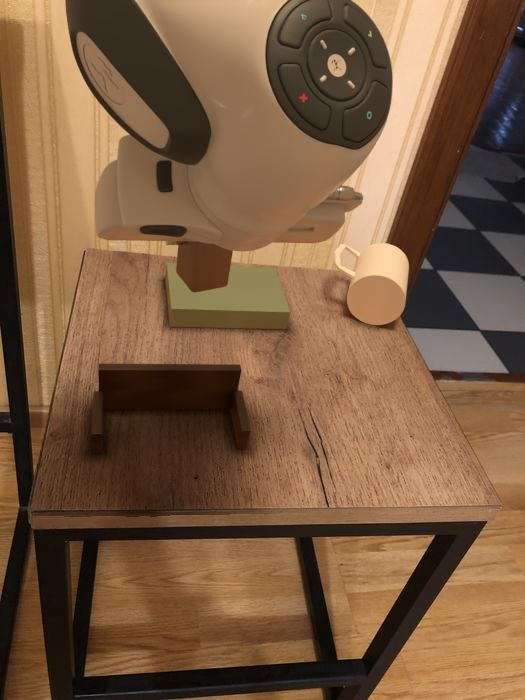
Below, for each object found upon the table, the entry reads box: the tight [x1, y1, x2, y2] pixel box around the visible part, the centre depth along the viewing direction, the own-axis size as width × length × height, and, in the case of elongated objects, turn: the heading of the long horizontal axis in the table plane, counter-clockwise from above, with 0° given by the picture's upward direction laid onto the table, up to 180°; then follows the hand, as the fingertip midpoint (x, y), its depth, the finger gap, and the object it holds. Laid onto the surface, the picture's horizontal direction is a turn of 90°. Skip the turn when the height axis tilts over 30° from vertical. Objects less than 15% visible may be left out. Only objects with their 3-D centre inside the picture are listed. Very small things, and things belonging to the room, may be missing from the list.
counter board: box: [164, 262, 291, 330], centre depth 81 cm, size 16×11×3 cm
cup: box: [333, 242, 410, 326], centre depth 86 cm, size 8×12×10 cm
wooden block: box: [176, 241, 234, 292], centre depth 55 cm, size 4×4×8 cm
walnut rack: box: [90, 363, 252, 454], centre depth 61 cm, size 16×7×6 cm, turn 100°
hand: (204, 237), depth 55 cm, fingers closed on wooden block, 4 cm apart
